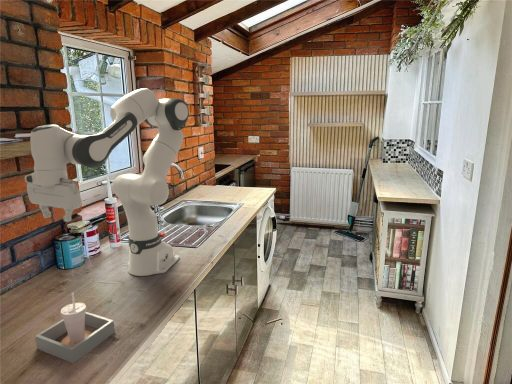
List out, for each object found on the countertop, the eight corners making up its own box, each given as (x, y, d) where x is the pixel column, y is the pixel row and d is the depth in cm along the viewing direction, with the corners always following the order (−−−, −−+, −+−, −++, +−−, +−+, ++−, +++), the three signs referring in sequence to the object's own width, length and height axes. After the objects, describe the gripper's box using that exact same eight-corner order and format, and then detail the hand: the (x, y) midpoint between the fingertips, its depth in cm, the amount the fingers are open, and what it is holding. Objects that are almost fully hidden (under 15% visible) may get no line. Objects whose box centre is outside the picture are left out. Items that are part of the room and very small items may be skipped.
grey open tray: (80, 320, 108) (79, 309, 107) (114, 332, 102) (113, 320, 101) (37, 348, 95) (35, 336, 94) (73, 363, 90) (71, 350, 89)
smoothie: (93, 331, 102) (88, 288, 99) (83, 346, 96) (77, 300, 92) (71, 331, 102) (65, 288, 98) (59, 346, 95) (53, 300, 92)
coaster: (79, 328, 104) (79, 327, 104) (99, 335, 101) (98, 334, 101) (54, 345, 97) (54, 343, 96) (75, 353, 93) (75, 351, 93)
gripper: (84, 178, 108) (88, 220, 111) (39, 173, 116) (45, 212, 119) (66, 182, 102) (71, 226, 105) (20, 176, 110) (27, 218, 113)
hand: (57, 219), depth 112 cm, fingers open, 8 cm apart
